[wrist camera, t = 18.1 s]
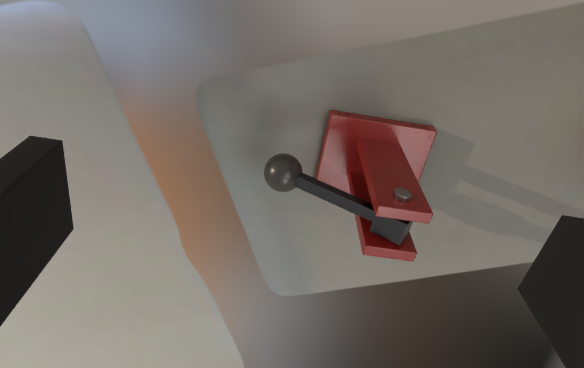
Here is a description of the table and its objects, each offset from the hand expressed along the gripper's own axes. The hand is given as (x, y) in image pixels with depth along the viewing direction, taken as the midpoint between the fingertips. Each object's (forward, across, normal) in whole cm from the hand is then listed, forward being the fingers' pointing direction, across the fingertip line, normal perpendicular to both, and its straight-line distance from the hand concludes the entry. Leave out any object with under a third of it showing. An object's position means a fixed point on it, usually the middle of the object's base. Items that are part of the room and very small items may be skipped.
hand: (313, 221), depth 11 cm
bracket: (+32, +10, -13) cm, 36 cm away
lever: (+24, +6, -13) cm, 28 cm away
